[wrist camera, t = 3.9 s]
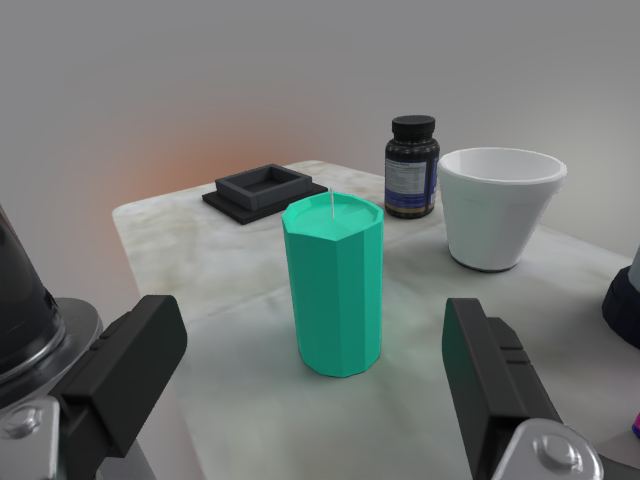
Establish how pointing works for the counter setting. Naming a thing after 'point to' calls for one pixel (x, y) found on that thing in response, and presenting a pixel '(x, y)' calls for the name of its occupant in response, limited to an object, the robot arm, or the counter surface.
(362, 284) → the candle
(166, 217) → the counter surface
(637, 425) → the supplement box
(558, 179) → the cup
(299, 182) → the dark grey square holder
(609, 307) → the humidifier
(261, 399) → the counter surface
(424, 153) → the pill bottle
